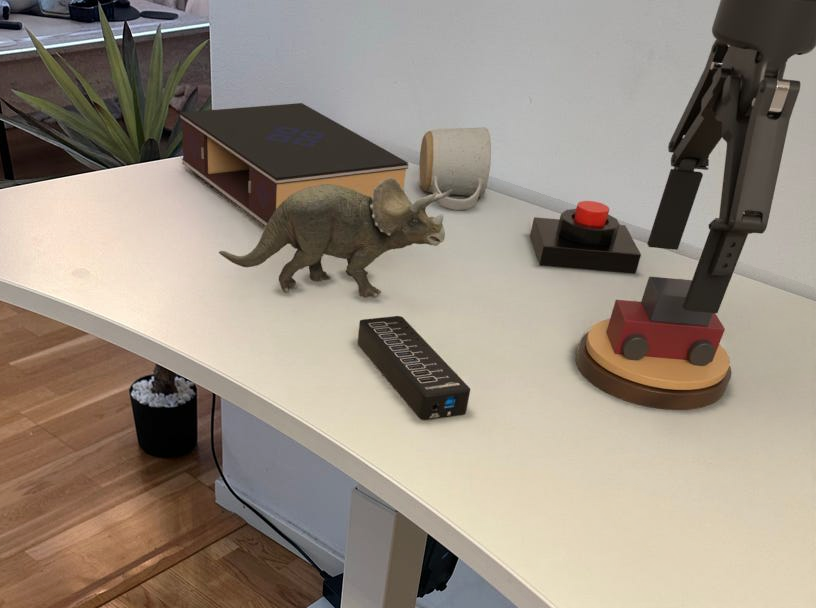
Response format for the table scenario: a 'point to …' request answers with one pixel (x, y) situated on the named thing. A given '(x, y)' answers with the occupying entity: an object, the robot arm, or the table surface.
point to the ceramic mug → (455, 164)
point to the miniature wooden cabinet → (280, 155)
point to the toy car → (661, 340)
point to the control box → (584, 244)
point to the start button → (591, 213)
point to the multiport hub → (413, 368)
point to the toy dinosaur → (344, 230)
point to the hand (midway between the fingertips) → (679, 277)
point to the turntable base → (646, 386)
